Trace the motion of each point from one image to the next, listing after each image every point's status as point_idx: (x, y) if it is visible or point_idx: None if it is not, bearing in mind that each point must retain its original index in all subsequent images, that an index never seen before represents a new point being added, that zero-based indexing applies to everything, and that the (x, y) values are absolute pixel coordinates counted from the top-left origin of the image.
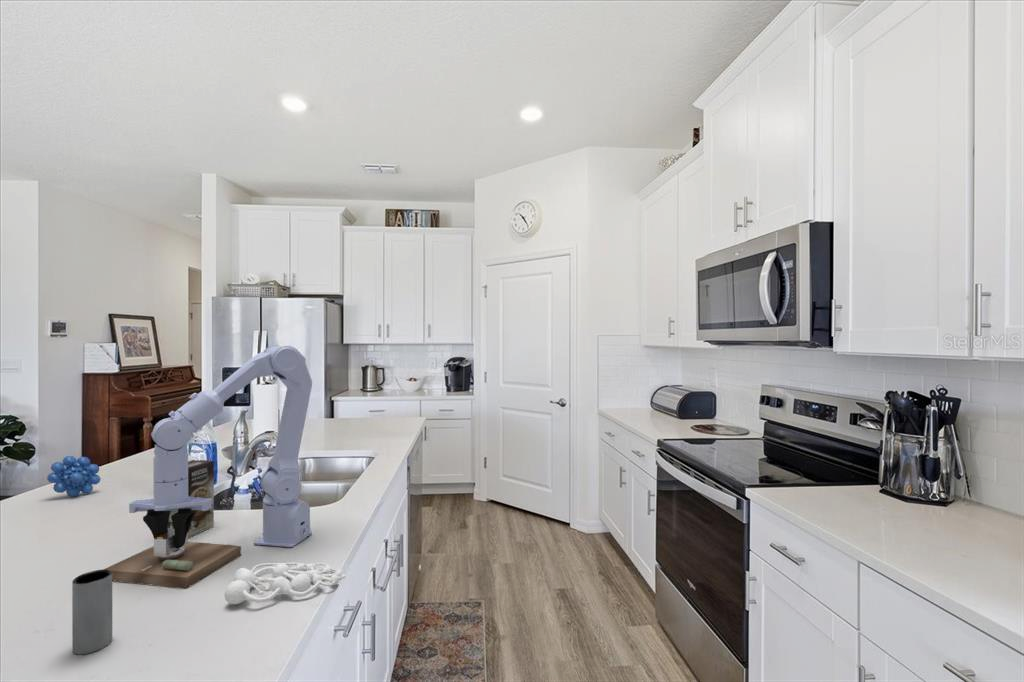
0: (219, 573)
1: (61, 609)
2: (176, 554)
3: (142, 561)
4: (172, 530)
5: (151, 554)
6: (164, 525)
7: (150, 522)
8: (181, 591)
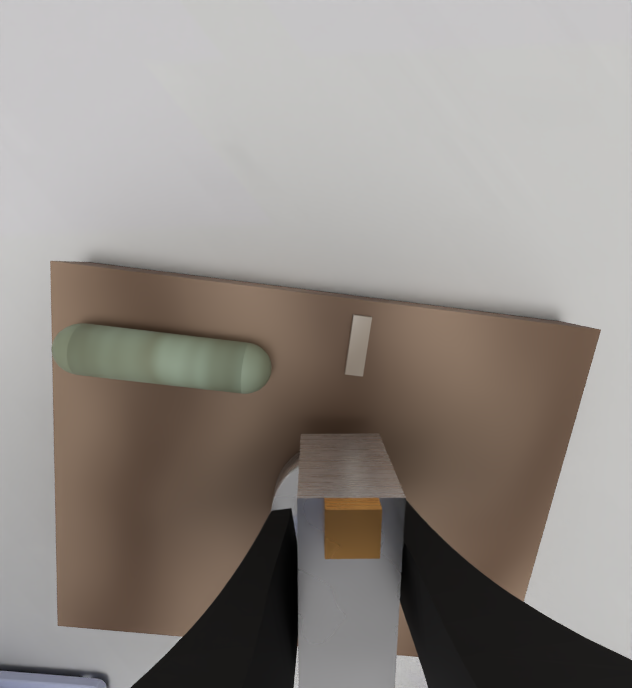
0: (49, 414)
1: (547, 24)
2: (281, 480)
3: (451, 431)
4: (381, 658)
5: (463, 510)
6: (436, 686)
7: (530, 655)
8: (90, 233)
